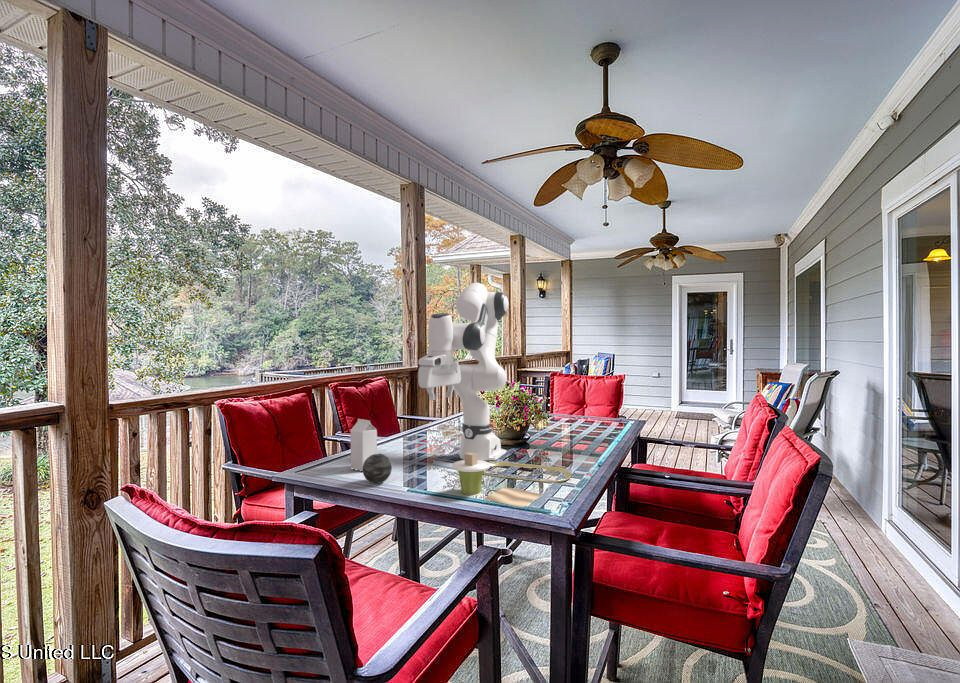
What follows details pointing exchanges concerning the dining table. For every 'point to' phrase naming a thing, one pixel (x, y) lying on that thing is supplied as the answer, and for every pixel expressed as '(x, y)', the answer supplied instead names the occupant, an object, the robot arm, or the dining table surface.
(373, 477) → the decorative stone
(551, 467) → the oval gold ring
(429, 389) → the robot arm
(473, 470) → the lid
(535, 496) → the mat
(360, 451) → the milk carton
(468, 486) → the plant pot
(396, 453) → the dining table surface
